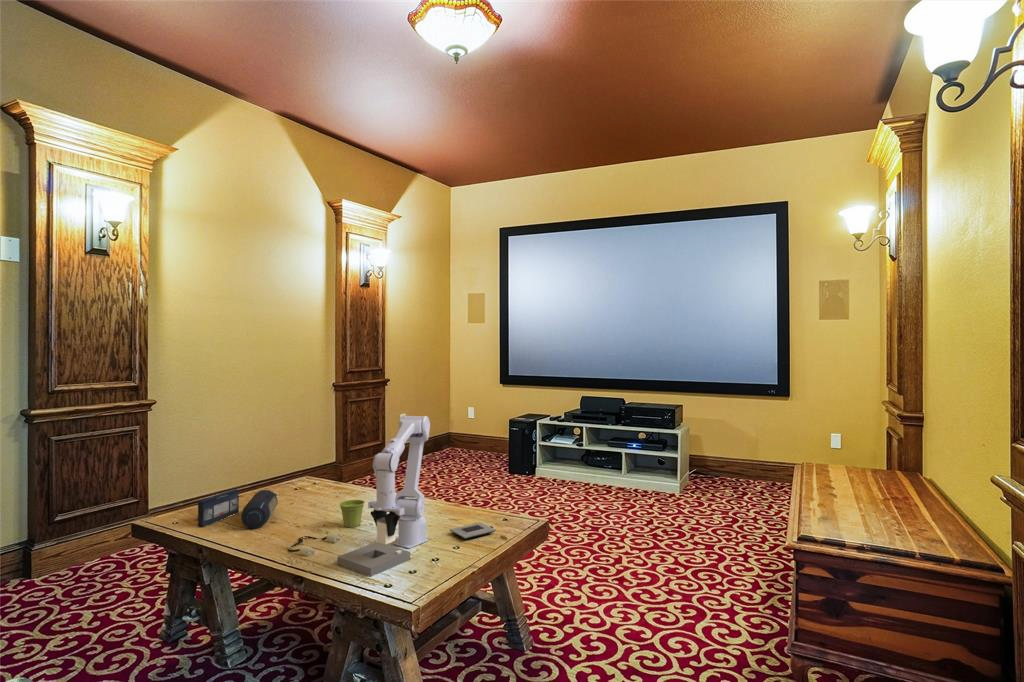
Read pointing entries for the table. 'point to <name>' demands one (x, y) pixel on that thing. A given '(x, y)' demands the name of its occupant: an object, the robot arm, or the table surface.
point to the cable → (309, 550)
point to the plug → (383, 532)
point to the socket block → (382, 562)
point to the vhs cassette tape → (218, 507)
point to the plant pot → (352, 512)
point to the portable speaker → (259, 509)
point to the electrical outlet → (472, 530)
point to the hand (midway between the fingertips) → (386, 534)
